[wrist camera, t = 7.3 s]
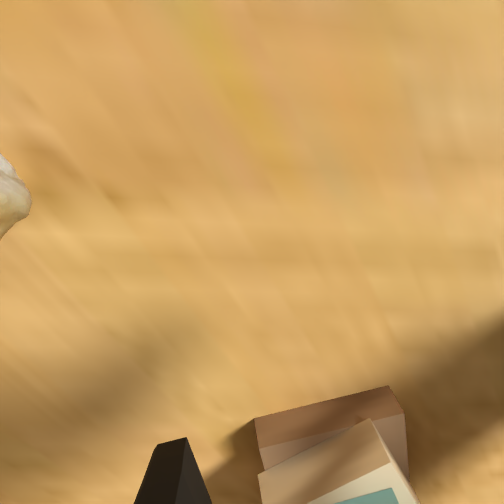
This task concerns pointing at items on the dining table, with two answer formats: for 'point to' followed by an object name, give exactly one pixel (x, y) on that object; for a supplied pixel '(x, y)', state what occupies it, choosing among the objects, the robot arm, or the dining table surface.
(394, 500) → the teal block
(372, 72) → the dining table surface
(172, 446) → the robot arm
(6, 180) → the pastry
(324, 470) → the tower top
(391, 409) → the tower base
